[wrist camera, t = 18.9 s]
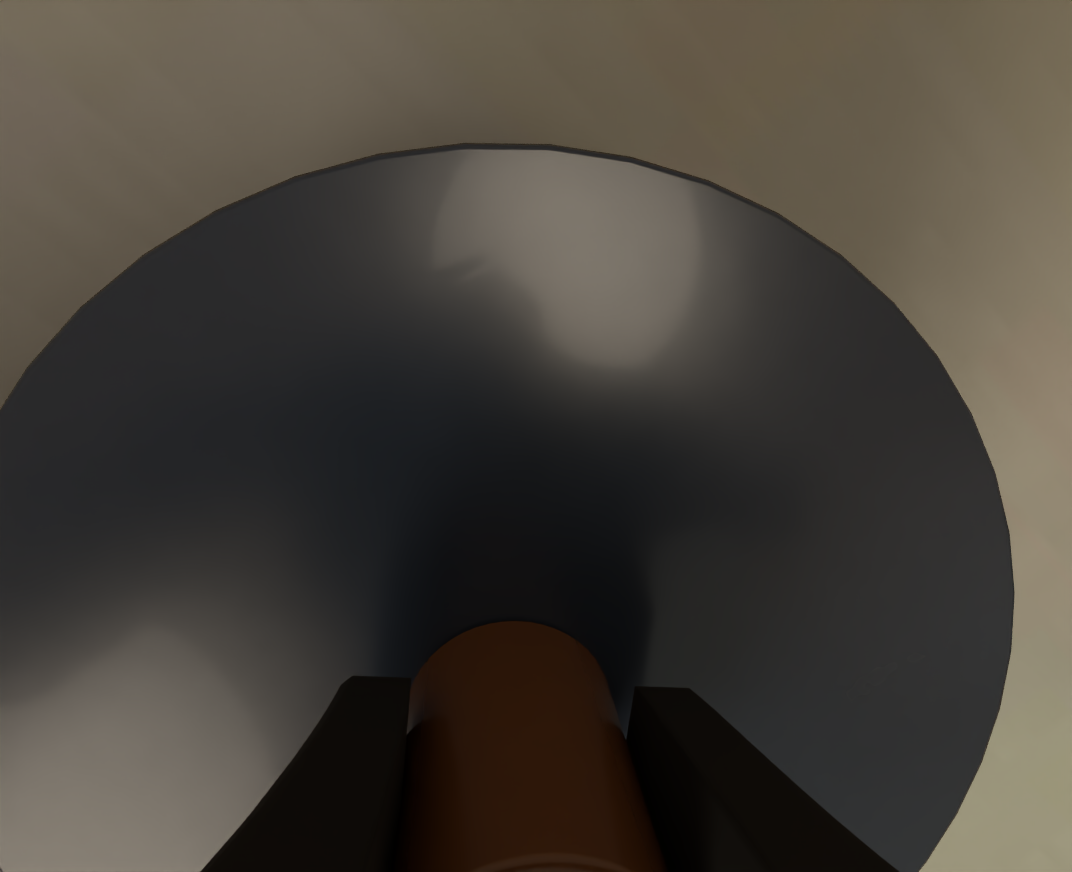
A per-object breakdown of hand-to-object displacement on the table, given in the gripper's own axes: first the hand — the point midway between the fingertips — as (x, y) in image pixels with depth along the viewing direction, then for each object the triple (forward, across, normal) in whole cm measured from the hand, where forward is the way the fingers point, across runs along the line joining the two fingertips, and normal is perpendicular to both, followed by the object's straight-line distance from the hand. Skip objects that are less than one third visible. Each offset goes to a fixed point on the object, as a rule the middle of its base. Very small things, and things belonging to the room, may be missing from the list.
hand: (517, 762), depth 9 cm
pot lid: (+1, 0, 0) cm, 1 cm away
